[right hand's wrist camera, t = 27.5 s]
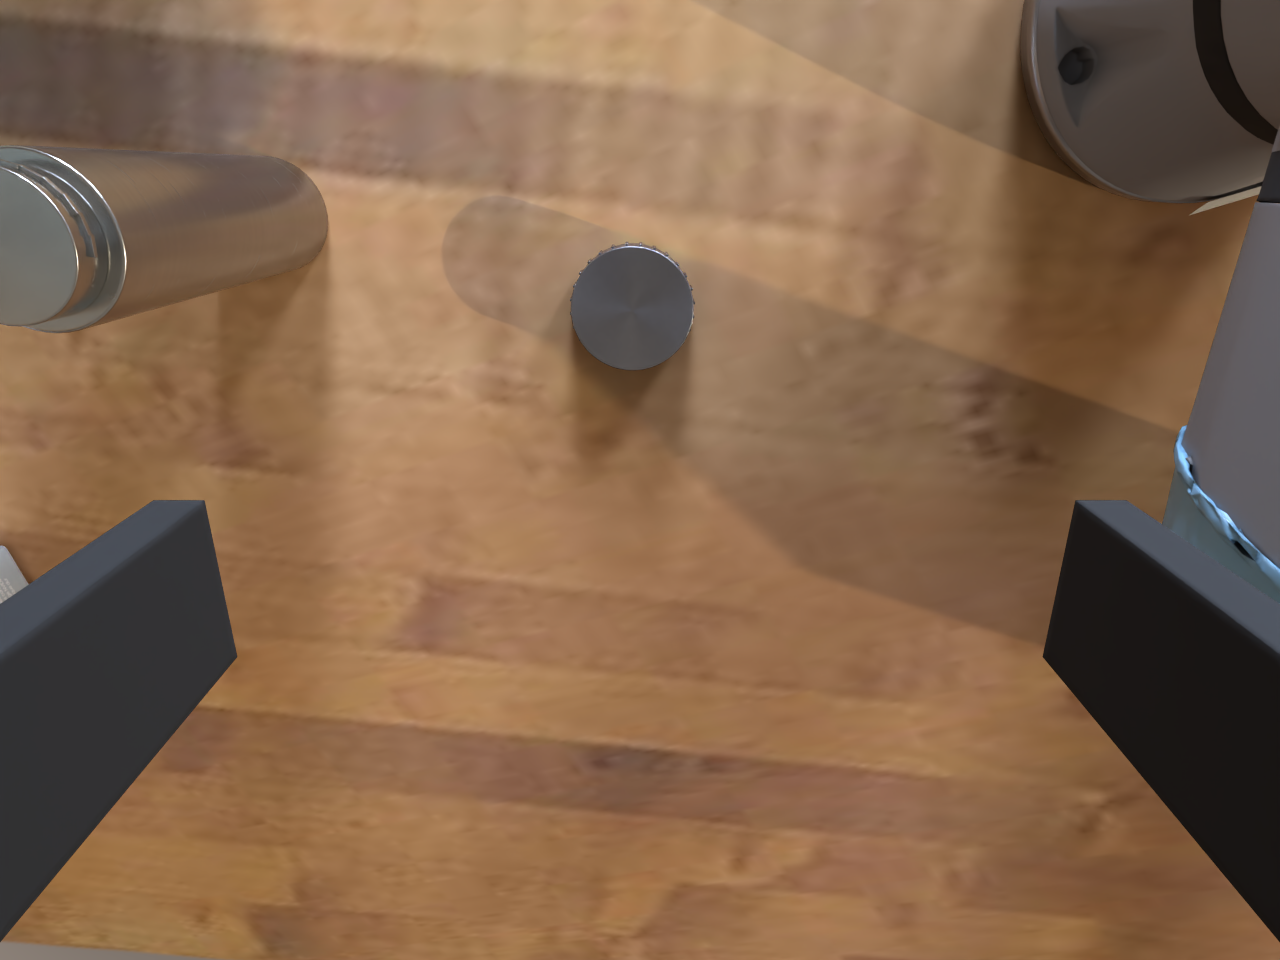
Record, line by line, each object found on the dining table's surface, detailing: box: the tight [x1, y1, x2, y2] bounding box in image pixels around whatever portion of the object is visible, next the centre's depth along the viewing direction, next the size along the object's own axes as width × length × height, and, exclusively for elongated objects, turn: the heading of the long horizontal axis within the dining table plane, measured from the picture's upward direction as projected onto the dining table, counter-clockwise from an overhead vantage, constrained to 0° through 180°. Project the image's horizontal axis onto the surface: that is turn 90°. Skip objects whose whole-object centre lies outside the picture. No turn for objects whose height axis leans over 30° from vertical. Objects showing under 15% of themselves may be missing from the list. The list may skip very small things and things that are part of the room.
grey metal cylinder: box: [0, 145, 328, 333], centre depth 29 cm, size 5×5×17 cm
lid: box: [570, 242, 695, 370], centre depth 37 cm, size 6×6×2 cm
